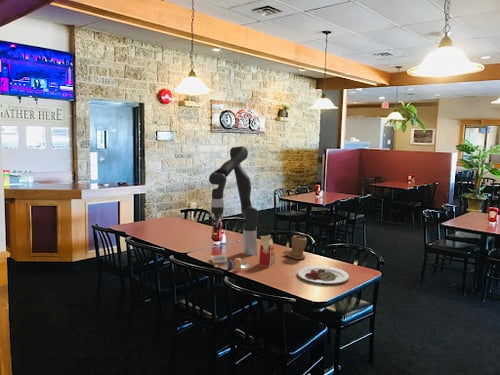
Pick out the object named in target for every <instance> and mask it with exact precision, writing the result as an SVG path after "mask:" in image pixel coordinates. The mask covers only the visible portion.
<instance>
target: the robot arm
mask: <svg viewBox="0 0 500 375" xmlns="http://www.w3.org/2000/svg"><path fill="white" fill-rule="evenodd" d="M248 156H249V151H248V148H247V147H246V146H242V145H241V146H234V147H231V148H230V149H229V157H230V159H228V160H226V161H225V162H224V163H223V164H222V165H221V166H220V167H219V168H218V169H216V170H214V171H212V172H211V173H210V175H209V176H208V177H209V178H208V182H209V183H210V184H211V185H213V186H214V185H216V186H217V188H216V187H215V188H213V189H212V190H211V203H210V209H211V210H210V214H212V215H213V216H212V221H211V222H212V224H211V225H212V227H213V234H218V231H220V230H221V225H222V220H223V219H222V217H223V216H222V215H223V214H224V202H225V201H224V191H225V188H226V187H225V186H226V183H227V177H228V176H229V175H230V174H231V173H232V171H234V175H235V181H236V186H237V192H238V196H239V200H240V208H241V210H240V211H241V215H242V217H243V218H244V219H245V224H244V225H243V227H242V229H243V230H242V235H243V236H242V254H243V255H245V256H256V255H258V241H257V228H258V224H259V212H258V210H257V208H256V207H253V205H252V201H251V194H252V193H251V192H252V184H251V178H250V176H249V175H248V174H247V172H245V170H244V169H243V167H242V165H241V164H242V162H244V161H245V160H247V158H248Z"/></svg>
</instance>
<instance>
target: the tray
mask: <svg viewBox="0 0 500 375" xmlns="http://www.w3.org/2000/svg"><path fill="white" fill-rule="evenodd" d="M210 261H211V262H212V263H213V264H218V263H219V264H220V263H228V258H227V257H226V255H225V254H223V255H222V254H221V255H211V256H210Z"/></svg>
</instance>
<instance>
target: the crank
mask: <svg viewBox="0 0 500 375" xmlns="http://www.w3.org/2000/svg"><path fill="white" fill-rule="evenodd" d="M232 262H233V265H232ZM227 263H228V268H227V270H228V271H232V270H234V269H233V268H234V267H235V260H233V259H229V260H228V259H227Z"/></svg>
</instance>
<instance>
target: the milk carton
mask: <svg viewBox="0 0 500 375" xmlns="http://www.w3.org/2000/svg"><path fill="white" fill-rule="evenodd" d="M259 237H260V246H259V258H258V266H262V267H268V269H271V267H273V265H274V266H275V265H276V264H277V262H276V254H275V246H274V240H273V237H272V235H271V234H268V235H260V236H259Z"/></svg>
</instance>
